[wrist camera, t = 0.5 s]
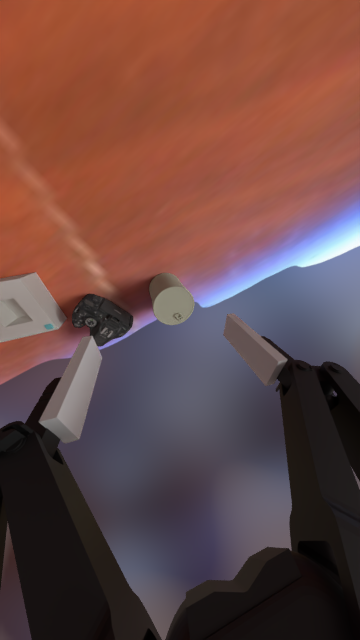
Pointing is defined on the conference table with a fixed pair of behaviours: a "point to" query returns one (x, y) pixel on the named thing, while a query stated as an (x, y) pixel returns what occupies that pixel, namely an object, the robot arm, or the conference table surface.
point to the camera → (101, 318)
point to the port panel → (27, 307)
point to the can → (170, 299)
